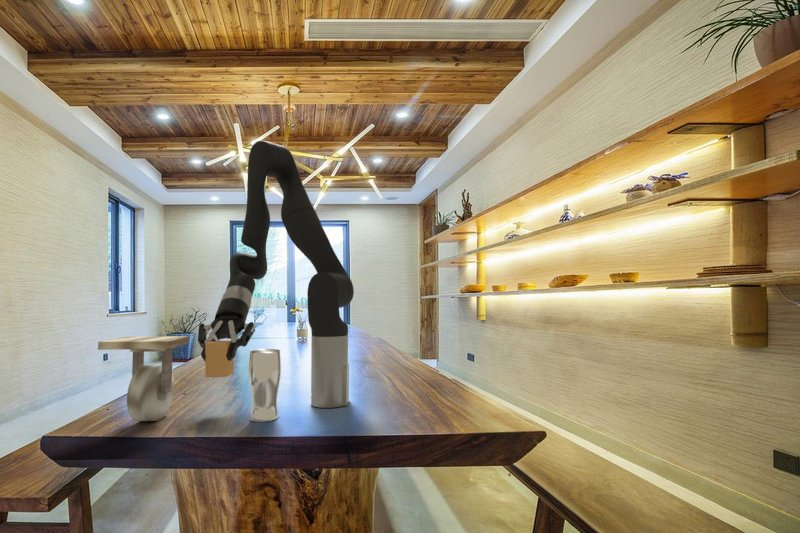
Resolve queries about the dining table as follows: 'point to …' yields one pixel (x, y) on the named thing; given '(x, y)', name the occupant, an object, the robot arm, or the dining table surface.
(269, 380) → the beer glass
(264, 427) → the dining table surface
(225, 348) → the orange tan block
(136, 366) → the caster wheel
